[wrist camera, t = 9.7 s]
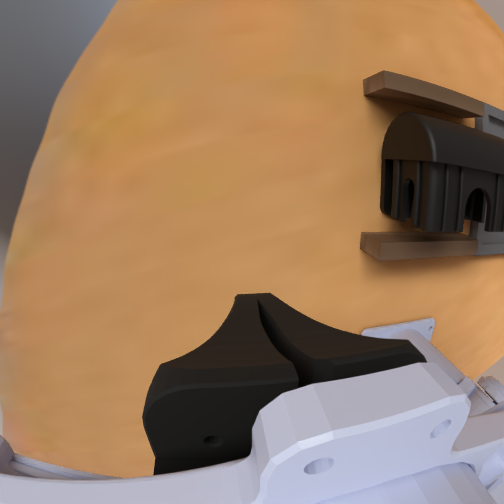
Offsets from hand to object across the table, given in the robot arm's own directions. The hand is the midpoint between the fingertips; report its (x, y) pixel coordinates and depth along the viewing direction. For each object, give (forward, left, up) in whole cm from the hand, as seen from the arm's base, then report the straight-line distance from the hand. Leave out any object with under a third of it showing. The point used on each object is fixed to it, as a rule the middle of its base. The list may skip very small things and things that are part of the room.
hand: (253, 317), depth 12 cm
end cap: (+6, -15, -10) cm, 19 cm away
